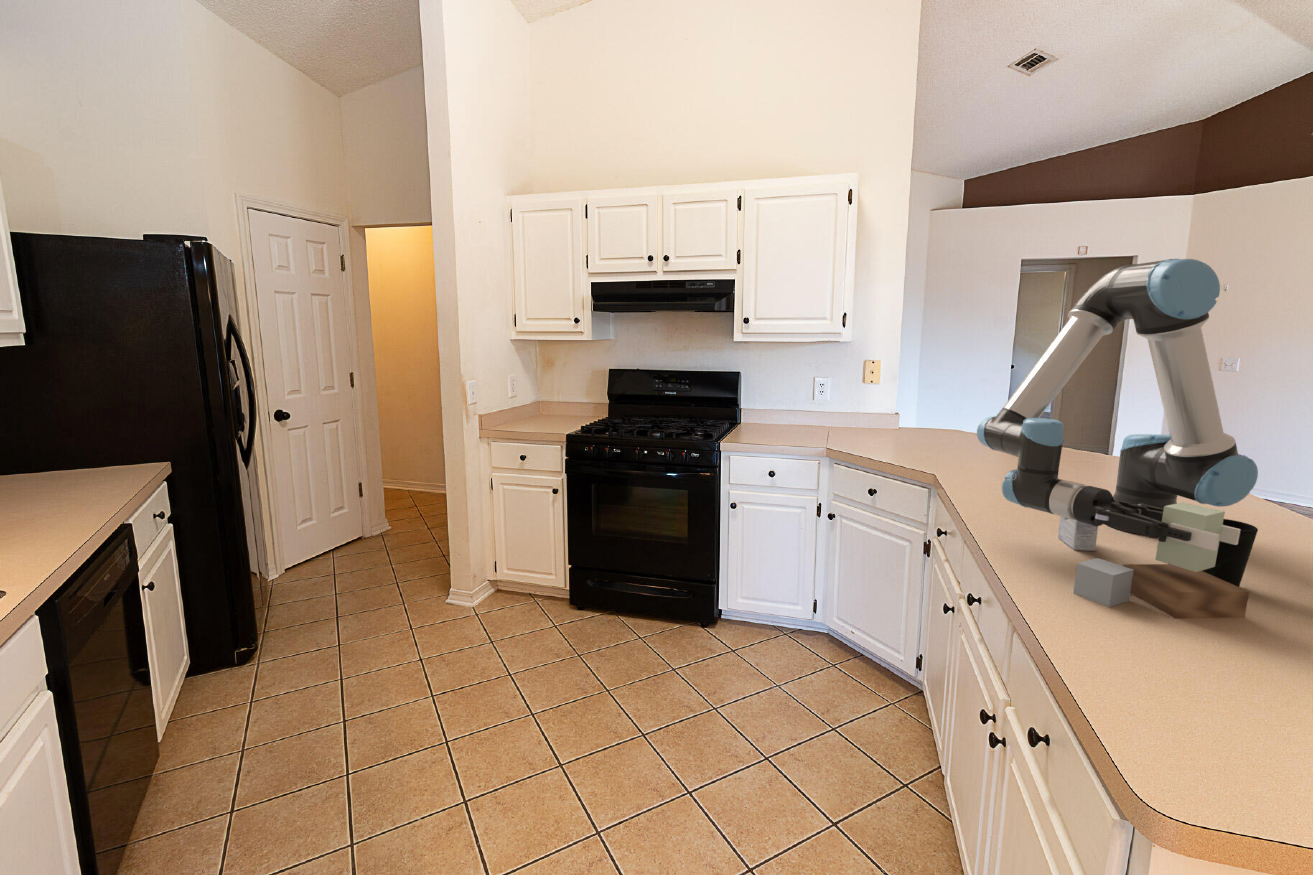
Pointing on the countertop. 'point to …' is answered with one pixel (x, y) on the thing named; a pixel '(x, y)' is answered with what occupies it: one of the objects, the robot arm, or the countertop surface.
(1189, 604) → the walnut block
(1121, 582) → the grey block
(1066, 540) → the medicine box
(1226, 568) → the cup
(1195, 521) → the sage block
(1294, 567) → the countertop surface
